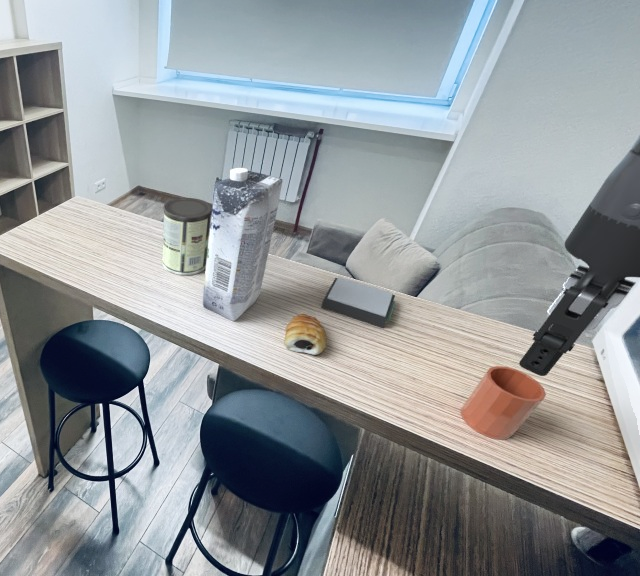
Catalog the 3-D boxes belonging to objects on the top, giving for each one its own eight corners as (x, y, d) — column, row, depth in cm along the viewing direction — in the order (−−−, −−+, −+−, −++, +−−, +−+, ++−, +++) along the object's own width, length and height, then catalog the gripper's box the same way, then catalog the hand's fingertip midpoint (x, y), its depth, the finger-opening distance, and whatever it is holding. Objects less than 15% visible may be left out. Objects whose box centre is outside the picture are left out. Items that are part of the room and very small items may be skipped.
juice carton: (262, 301, 82) (291, 169, 66) (235, 327, 75) (260, 187, 60) (223, 285, 87) (242, 158, 71) (195, 308, 80) (209, 174, 65)
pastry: (286, 318, 77) (290, 302, 75) (324, 326, 75) (330, 310, 73) (281, 350, 70) (286, 333, 68) (323, 360, 68) (330, 343, 66)
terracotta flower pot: (518, 423, 57) (551, 385, 53) (504, 447, 55) (538, 409, 50) (469, 397, 61) (495, 359, 57) (453, 418, 58) (480, 380, 54)
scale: (393, 304, 80) (398, 293, 79) (385, 329, 74) (391, 317, 73) (332, 286, 86) (336, 274, 84) (321, 307, 80) (324, 296, 78)
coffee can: (179, 248, 100) (183, 193, 92) (214, 262, 94) (222, 205, 86) (152, 264, 94) (153, 207, 86) (188, 281, 88) (193, 222, 80)
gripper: (709, 253, 29) (571, 407, 38) (733, 206, 35) (611, 346, 44) (569, 217, 34) (477, 360, 43) (613, 182, 40) (526, 312, 49)
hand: (545, 353), depth 44 cm, fingers open, 8 cm apart
